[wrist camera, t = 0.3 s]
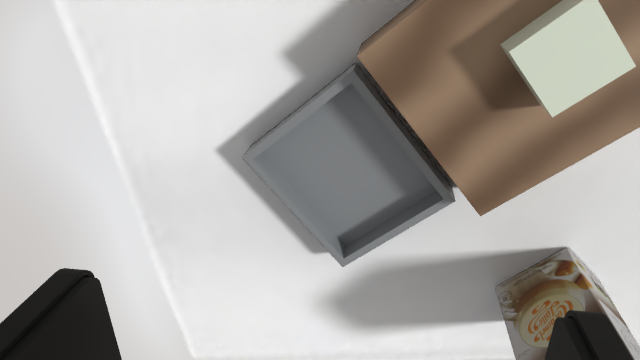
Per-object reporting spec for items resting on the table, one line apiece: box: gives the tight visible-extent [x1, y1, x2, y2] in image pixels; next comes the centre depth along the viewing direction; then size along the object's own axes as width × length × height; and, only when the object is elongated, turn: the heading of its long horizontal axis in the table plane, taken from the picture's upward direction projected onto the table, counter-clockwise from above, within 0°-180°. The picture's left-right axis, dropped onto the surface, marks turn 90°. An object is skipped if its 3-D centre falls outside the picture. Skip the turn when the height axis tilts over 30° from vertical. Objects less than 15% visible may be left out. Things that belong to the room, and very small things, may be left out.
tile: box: [500, 0, 636, 118], centre depth 33 cm, size 6×6×3 cm
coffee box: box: [495, 248, 640, 360], centre depth 43 cm, size 9×6×16 cm
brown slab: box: [357, 0, 640, 216], centre depth 37 cm, size 18×20×6 cm
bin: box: [242, 63, 455, 267], centre depth 46 cm, size 16×14×3 cm
